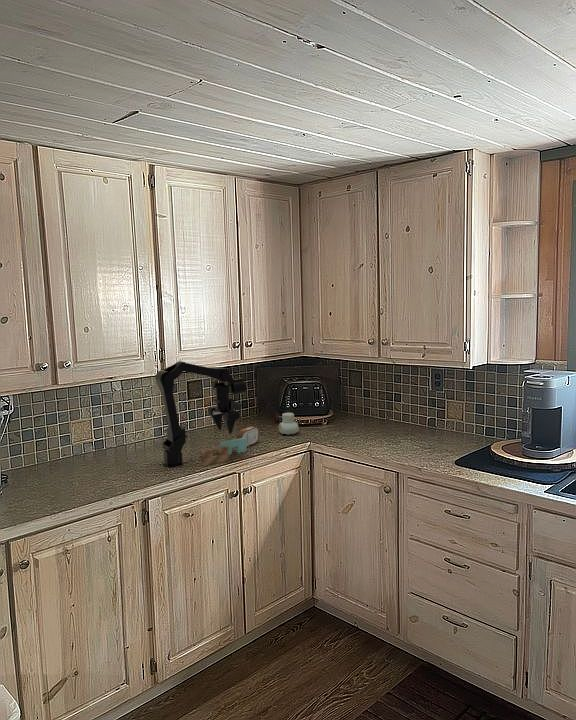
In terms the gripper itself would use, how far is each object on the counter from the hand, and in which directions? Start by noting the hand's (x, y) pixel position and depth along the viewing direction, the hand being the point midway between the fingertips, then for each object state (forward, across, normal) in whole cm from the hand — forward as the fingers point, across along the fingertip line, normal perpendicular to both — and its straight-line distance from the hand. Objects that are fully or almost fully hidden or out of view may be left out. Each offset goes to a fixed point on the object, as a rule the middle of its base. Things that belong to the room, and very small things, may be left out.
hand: (225, 431), depth 261 cm
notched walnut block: (+10, -7, +9) cm, 15 cm away
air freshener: (+12, +13, -42) cm, 46 cm away
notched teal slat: (+10, 0, -4) cm, 11 cm away
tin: (+11, +7, -16) cm, 20 cm away
